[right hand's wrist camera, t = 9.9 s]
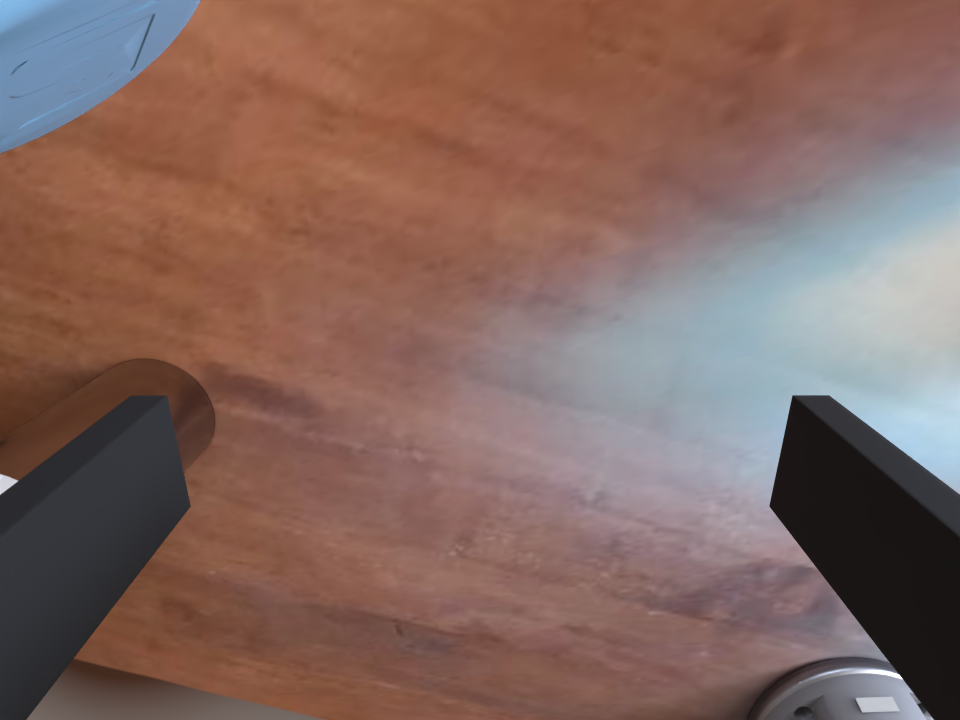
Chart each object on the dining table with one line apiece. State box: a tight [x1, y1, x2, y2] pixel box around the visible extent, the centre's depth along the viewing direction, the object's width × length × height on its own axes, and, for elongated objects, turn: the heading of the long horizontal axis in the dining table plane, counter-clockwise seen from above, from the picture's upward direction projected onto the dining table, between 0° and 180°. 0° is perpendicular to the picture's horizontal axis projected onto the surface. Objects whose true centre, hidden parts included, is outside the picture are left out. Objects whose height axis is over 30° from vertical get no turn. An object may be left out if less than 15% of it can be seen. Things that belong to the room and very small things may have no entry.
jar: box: [0, 359, 215, 481], centre depth 33 cm, size 8×8×17 cm
